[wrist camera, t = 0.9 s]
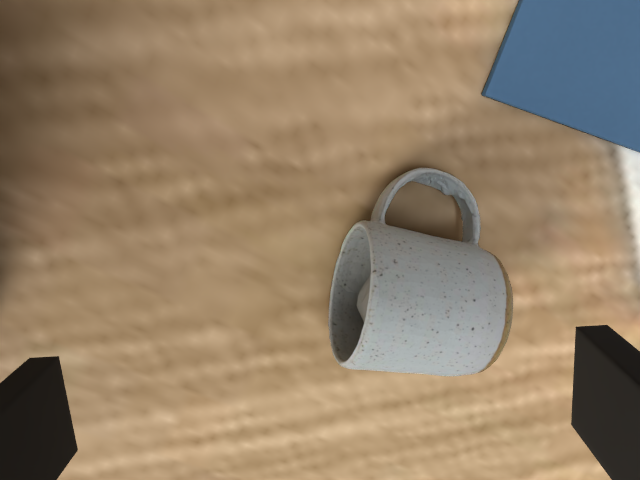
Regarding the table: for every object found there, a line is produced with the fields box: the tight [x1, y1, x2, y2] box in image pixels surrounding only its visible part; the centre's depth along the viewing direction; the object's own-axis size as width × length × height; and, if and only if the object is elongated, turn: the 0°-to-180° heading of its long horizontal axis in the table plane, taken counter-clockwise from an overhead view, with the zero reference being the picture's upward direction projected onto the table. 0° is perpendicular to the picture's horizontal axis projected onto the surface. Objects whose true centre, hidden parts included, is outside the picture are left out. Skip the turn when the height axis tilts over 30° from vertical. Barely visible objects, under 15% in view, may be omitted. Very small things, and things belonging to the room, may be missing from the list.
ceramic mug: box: [328, 168, 513, 376], centre depth 29 cm, size 11×8×8 cm
